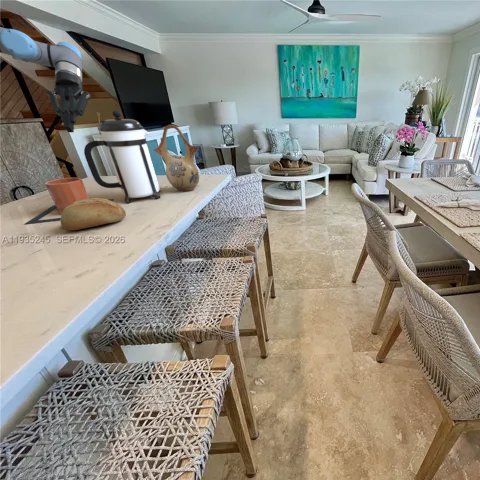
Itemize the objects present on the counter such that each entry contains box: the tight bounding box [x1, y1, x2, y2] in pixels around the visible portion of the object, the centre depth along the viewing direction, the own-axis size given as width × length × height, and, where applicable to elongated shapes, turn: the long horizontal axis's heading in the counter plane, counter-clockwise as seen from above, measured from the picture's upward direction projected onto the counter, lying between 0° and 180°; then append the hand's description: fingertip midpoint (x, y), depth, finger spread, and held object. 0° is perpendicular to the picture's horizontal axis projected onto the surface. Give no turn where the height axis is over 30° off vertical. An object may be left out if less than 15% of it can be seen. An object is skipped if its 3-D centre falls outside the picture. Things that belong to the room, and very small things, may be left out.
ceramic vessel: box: [153, 124, 200, 192], centre depth 104 cm, size 16×9×25 cm, turn 99°
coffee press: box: [83, 109, 161, 204], centre depth 94 cm, size 17×16×30 cm
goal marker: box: [24, 198, 114, 225], centre depth 89 cm, size 18×18×1 cm
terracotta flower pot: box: [44, 177, 90, 215], centre depth 87 cm, size 9×9×10 cm
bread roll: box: [59, 197, 127, 231], centre depth 76 cm, size 10×15×8 cm, turn 125°
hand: (68, 129), depth 95 cm, fingers closed
